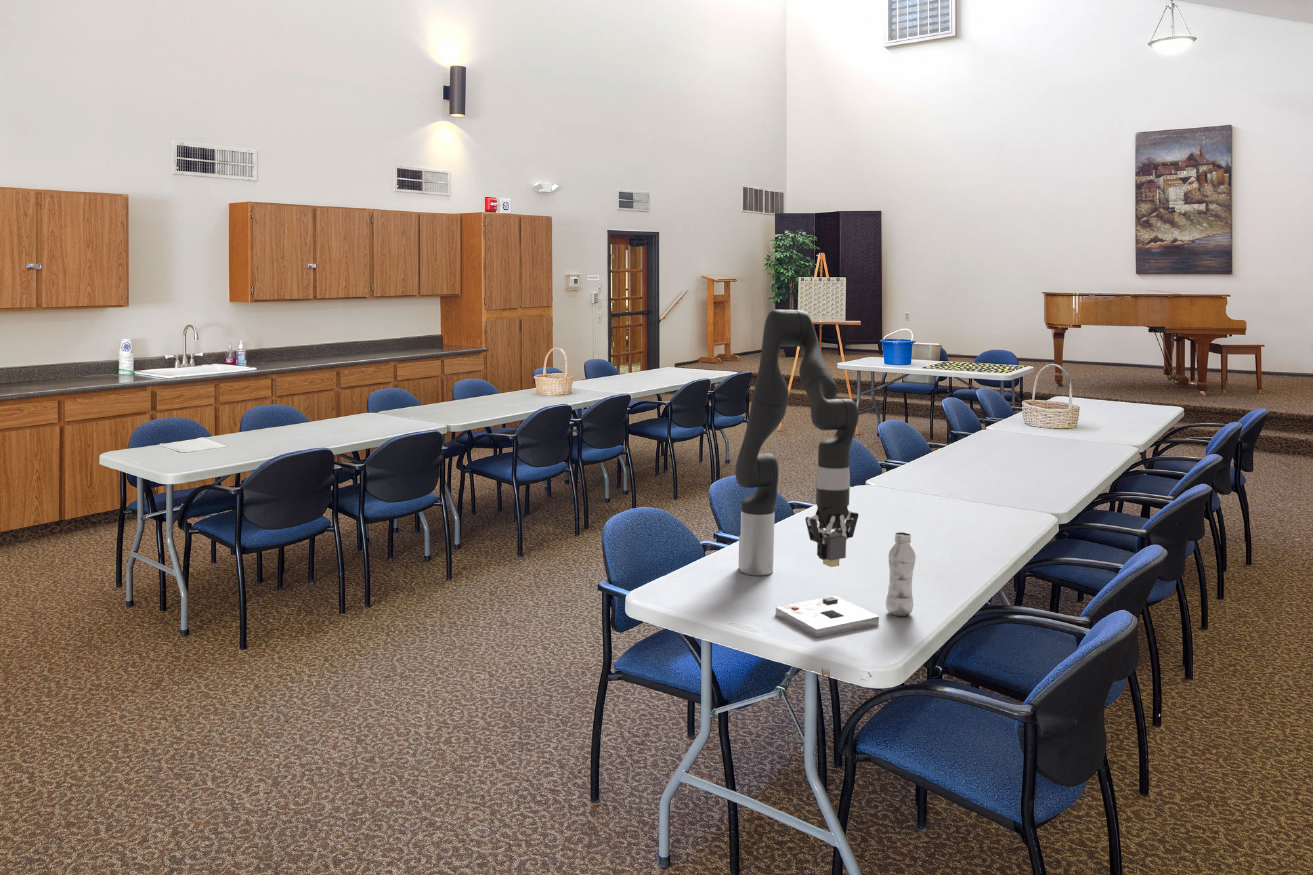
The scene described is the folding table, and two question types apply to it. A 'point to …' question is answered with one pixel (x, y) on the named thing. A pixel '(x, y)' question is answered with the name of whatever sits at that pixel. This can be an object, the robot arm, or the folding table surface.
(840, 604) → the socket plate
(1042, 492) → the folding table surface
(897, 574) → the plastic bottle
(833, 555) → the plug
